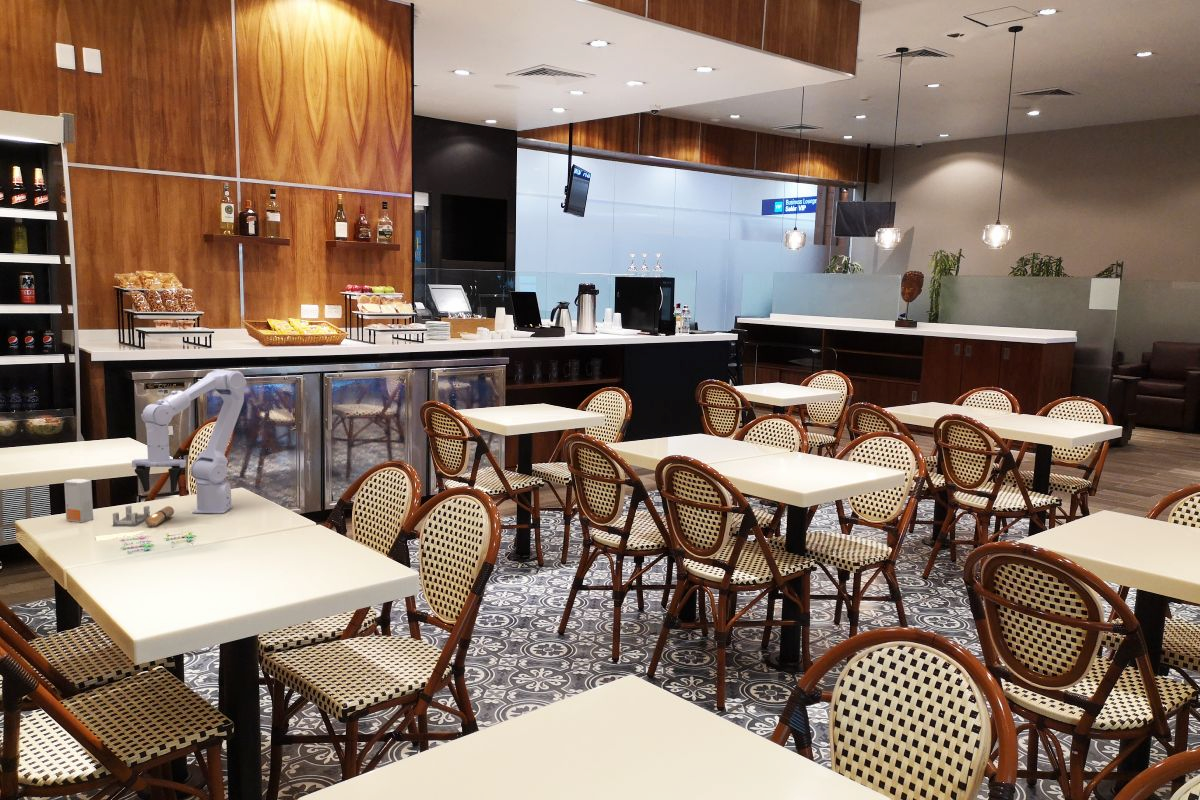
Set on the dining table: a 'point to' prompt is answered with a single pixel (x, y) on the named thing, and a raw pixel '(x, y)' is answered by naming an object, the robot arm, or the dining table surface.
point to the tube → (159, 516)
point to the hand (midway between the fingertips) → (160, 491)
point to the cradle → (131, 517)
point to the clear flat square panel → (106, 537)
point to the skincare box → (78, 500)
